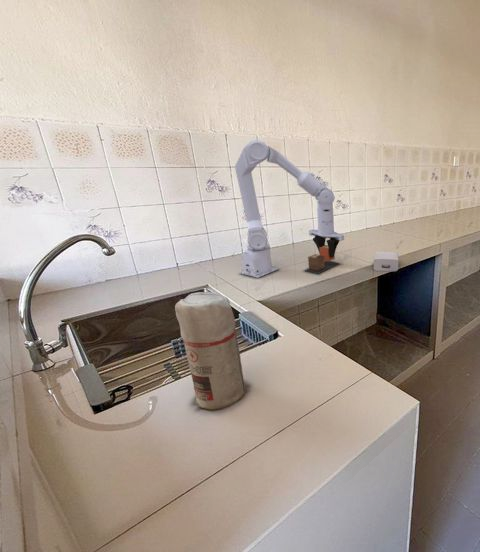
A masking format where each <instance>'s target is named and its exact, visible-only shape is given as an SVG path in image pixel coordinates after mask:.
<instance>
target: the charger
mask: <svg viewBox="0 0 480 552" xmlns="http://www.w3.org/2000/svg"><path fill="white" fill-rule="evenodd" d="M373 270H374V271H376V272H397V271H398V270H399V253H397V252H395V251H394V252H392V251H376V252H374V256H373Z"/></svg>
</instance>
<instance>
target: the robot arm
mask: <svg viewBox="0 0 480 552" xmlns="http://www.w3.org/2000/svg"><path fill="white" fill-rule="evenodd" d="M265 161H266V162H267V163H271V164H276V165H278V166H279V167H280V168H281V169H283V170H284V171H285V172H287V174H289V175H291V176H292V177H294V178H295V179H296V182H297V186H299V187H300V188H301V189H302V190H304V191H305V192H306V193H308V194H309V195H310V196H311V197H314V199H315V200H316V204H317V205H316V207H317V208H316V214H317V229H310V230H308V236H310V237H312V236H314V237H313V238H312V241H313V242H314V244H315V246H316V248H317V250H318V255H320V251H319V247H322V246H325V245H328V248H329V256H330V258H332V257H334V255H336V250H337V247H338V245H339V243H340V242H342V241H345V234H344V233H343V234H342V233H339V232H336V231H335V225H334V224H335V223H334V220H335V219H334V202H335V198H336V197H335V194H334V192H333V191H332V189H330V188H329V187H327V186H326V183H325V182H321V181H320V180H319V179H318V178H316V175H315V174H314V173H313V172H309V171H302V170H301V169H299V168H298V167H297V166H296V165H295V164H294V163H292V162H291V161H290V160H289V159H288V158H287V157H285V156H284V155H283V154H282V153H281V152H280V151H278V150H276V149H274V148H273V147H271V146H269V145H267V144H266V143H265V142H263V141H262V140H259V139H253V140H250V141H249V142H248V143H247V144H246V145H245V146H243V149H242V150H241V153H240V154H239V157H238V158H237V160H236V162H235V165H234V169H235V174H236V178H237V183H238V187H239V192H240V196H241V202H242V206H243V211H244V215H245V220H246V224H247V240H246V241H247V246H246V250H245V251H243V252H242V253H241V254H240V262H241V269H242V271H241V273H240V274H242V275H245V276H249V277H253V278H257V279H258V278H261V277H263V276H266V275H268V274H271V273H273V272H276V271H278V268H277V267H273V266H272V257H271V247H270V244H269V239H268V237H267V236H268V235H267V234H268V233H267V231H266V229H265V228H264V226H263V223H262V219H261V214H260V213H261V212H260V207H259V203H258V199H257V194H256V187H255V184H254V178H253V174H252V172H253V171H254V170H255V169H256V167H257V166H258V165H259V164H261V163H263V162H265Z"/></svg>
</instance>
